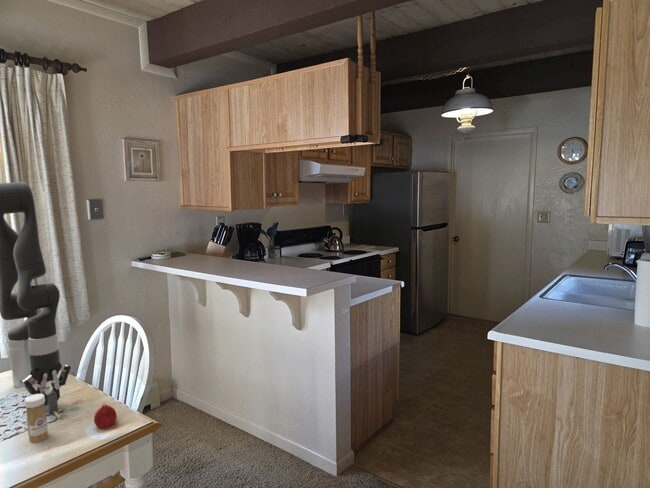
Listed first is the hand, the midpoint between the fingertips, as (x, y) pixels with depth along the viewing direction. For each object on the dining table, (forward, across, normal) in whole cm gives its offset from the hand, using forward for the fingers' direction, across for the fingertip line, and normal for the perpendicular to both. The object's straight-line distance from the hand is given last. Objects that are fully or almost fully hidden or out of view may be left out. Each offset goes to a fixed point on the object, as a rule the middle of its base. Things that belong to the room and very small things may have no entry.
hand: (49, 402), depth 133 cm
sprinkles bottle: (+4, +9, +14) cm, 17 cm away
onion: (+4, -4, +23) cm, 24 cm away
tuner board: (+4, -1, +3) cm, 5 cm away
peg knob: (+2, 0, +2) cm, 3 cm away
